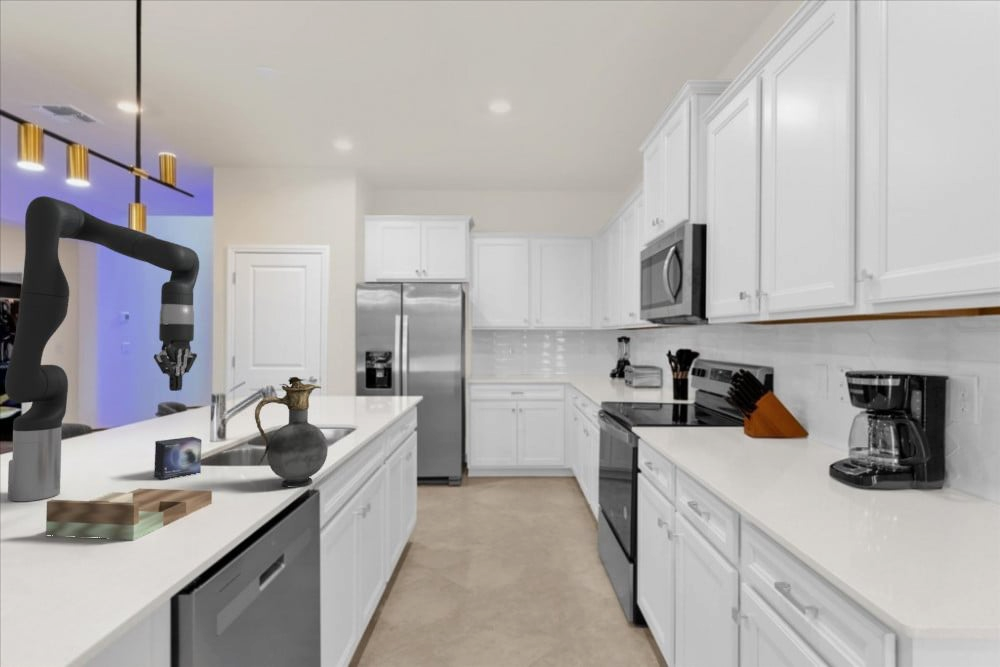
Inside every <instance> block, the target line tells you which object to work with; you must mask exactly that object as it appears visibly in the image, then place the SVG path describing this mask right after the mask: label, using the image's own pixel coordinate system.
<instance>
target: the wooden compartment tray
mask: <svg viewBox="0 0 1000 667" xmlns="http://www.w3.org/2000/svg"><path fill="white" fill-rule="evenodd" d="M127 493H133V503H123V502H97V501H89V500H69V499H51V500H47V501H46V519H45V520H46V521H45V522H46V523H45V526H46V527H45V536H46V535H51V536H52V535H53V536H75V537H98V538H99V537H100V538H109V539H108V540H113V539H126V540H125V541H135V540H137V538H138V539H139V538H142V537H144V536H145V534H146V535H148V534H150V533H152V532H154V531H156V530H158V529H161V528H162V527H165V526H167V525H169V524H171V523H174V522H176V521H177V520H179V519H182V518H184V517H186V516H188V515H190V514H192V513H194V512H197V511H199V510H201V509H203V508H205V507H208V506H209V505H211V504H212V500H213V498H212V497H213V495H212V494H213V492H212V490H197V489H196V490H195V489H193V490H190V489H189V490H188V489H164V488H163V489H162V488H142V487H141V488H137V489H135V490H134V489H133V490H132V491H128V492H127ZM149 532H150V533H149ZM147 533H148V534H147ZM143 535H144V536H143ZM141 536H142V537H141Z"/></svg>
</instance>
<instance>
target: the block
mask: <svg viewBox="0 0 1000 667" xmlns="http://www.w3.org/2000/svg"><path fill="white" fill-rule="evenodd" d="M88 501H97V502H123V503H133V493H128V492H120V491H119V492H118V491H117V492H116V491H115V492H114V491H113V492H109V493H106V494H105V495H102V496H98V497H94V498H92V499H89V500H88Z"/></svg>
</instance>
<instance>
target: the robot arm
mask: <svg viewBox="0 0 1000 667" xmlns="http://www.w3.org/2000/svg"><path fill="white" fill-rule="evenodd" d="M24 221H25V222H24V223H25V224H24V230H25V232H24V233H25V236H24V238H25V241H24V242H25V246H24V247H25V248H24V249H25V252H24V263H23V277H22V283H21V290H20V296H19V302H18V303H19V304H18V314H17V316H18V317H17V322H16V323H17V324H16V331H15V336H14V342H13V346H12V350H11V354H10V358H9V362H8V366H7V369H6V374H5V379H4V389H5V393H6V396H7V398H8V399H9V400H10V401H12V402H13V403H17V404H26V403H31V406H30V408H29V409H28V410H26V412H24V413H22V414H21V415H19V416H17V417H16V418H14V420H13V424H12V458H11V459H10V460H8V474H7V477H8V478H7V499H8V500H11V501H12V502H32V501H39V500H44V499H48V498H52V497H55V496H58V495H59V494H60V493H61V477H62V476H61V474H62V473H61V472H62V471H61V470H62V428H63V427H62V424H63V419H64V417H65V416H66V413H67V401H68V393H69V392H68V391H69V381H68V375H67V373H66V371H65V370H64V368H62V367H61V366H59V365H56V364H42V358H43V353H44V350H45V347H46V346H47V343H48V342H49V340H50V339H51V338H52V336H53V335H54V334H55V333H56V331H57V330H58V329H59V328H60V326H61V325H63V324H62V323H64V321H65V319H66V317H67V314H68V309H69V308H68V307H69V301H70V300H69V299H70V287H69V286H70V285H69V282H68V280H67V277H66V274H65V272H64V270H63V268H62V265H61V263H60V259H59V244H60V239H72V240H77V241H78V240H79V241H83V242H89V243H93V244H97V245H100V246H102V247H104V248H107V249H109V250H111V251H113V252H114V253H115V252H116V253H118V254H120V255H123V256H125V257H129V258H132V259H135V260H138V261H139V262H144V263H147V264H150V265H152V266H155V267H157V268H160V269H163V270H165V271H169V272H171V273H170V277H169V280H168V281H166V282H164V283H163V284H162V286H161V289H160V290H161V292H160V293H161V294H160V295H161V296H160V297H161V298H160V300H161V301H160V310H159V324H158V325H159V327H158V328H159V329H158V331H159V332H158V333H159V334H158V339H159V341H160V342H162V345H161V348H160V349H161V351H160V352H159V353H158V354H156V353H155V354H154V355H153V359H154V361H155V363H156V364H157V366H158V368H159V369H160V371H161V372H162V374H164V375H167V376H168V377H169V378H168V380H169V381H168V383H169V385H168V387H169V391H170V392H176V391H182V390H183V388H182V387H183V376H185V374H186V373H187V374H188V373H189V372H190V371H191V369H192V366H193V365H194V363H195V361H196V359H197V357H198V353H193V352H192V351H191V349H192V348H191V343H190V342H193V341H195V340H194V338H195V334H194V333H195V330H194V329H195V312H194V311H195V310H194V290H195V289H194V288H195V285H196V282H197V279H198V276H199V270H200V259H199V256H198V254H197V252H196V251H194V249H192V248H190V247H187V246H185V245H181V244H177V243H174V242H171V241H168V240H164V239H160V238H157V237H156V236H153V235H151V234H149V233H145V232H143V231H140V230H137V229H132V228H129V227H126V226H124V225H123V226H122V225H118V224H115V223H114V224H113V223H111V222H108V221H105V220H102V219H101V218H99V217H97V216H94V215H92V214H90V213H89V212H87V211H85V210H83V209H81V208H79V207H77V206H76V205H74V204H72V203H70V202H66V201H63V200H60V199H56V198H54V197H50V196H45V195H44V196H43V195H42V196H37V197H35V198H34V199H33V200H31V201H30V202H29V204H28V205H27V208H26V212H25V220H24Z"/></svg>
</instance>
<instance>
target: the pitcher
mask: <svg viewBox="0 0 1000 667" xmlns="http://www.w3.org/2000/svg"><path fill="white" fill-rule="evenodd" d="M303 381H305V380H304V379H303V378H302V379H301V378H300V377H298V376H292V377H289V379H288V382H289V385H290V386H289V385H288V384H286V383H282V384H281V383H280V384H279V386H281V388H282V390H283V391H285V395H284V396H283V397H282V398H281V397H274V396H268V397H264V398H262V399H261V400H260V401H259V402H258V403H257V405H256V407H255V409H254V419H255V424H256V426H257V427H256V428H257V429H258V431H259V433H260V435H261V436H262V439H263V441H264V444H265V449H264V453H263V455H262V457H261V458H260V460H259V462H258V464H257V465H258V467H259V466H260V464H261V463H262V462H263V460H264V458H265V457H266V459H267V463H268V465H269V468H270V469H271V471H272V472H273V473H274V474H275V475H277V476H278V477H279V478H281V479H284V480H283V481H281V485H282V486H283V485H284V486H302V487H306V486H309V485H311V484H312V483H313V479H312V478H311V477H312V476H314V475H315V474H317V473H318V472H319V471H320V470H321V469H322V468H323V466H324V464H325V463H326V460H327V457H328V450H329V448H328V443H327V442H328V441H327V439H326V436H325V434H324V433H323V431H322V430H321V429H320V428H319V427H317V426H316V425H314V424H312V423H309V420H308V418H309V413H308V412H309V410H308V409H310V403H309V401H310V400H309V398H310V395H311V394H312V392H313V390H315V389H322V386H320V385H315V384H309V383H308V384H307V383H306V384H305V383H303ZM273 403H274V404H275V403H276V404H279V405H284V406H286V407H287V409H288V423H287V424H286V425H284V426H282V427H280V428H278V429H276V431H275V432H274V433H273V434H272V436H271V437H270V439H269V441H268V438H267V435H266V433H265V431H264V430H263V428H262V424H261V420H260V412H261V411H262V408H263V407H264V406H265V405H268V404H273ZM284 486H283V487H284Z"/></svg>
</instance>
